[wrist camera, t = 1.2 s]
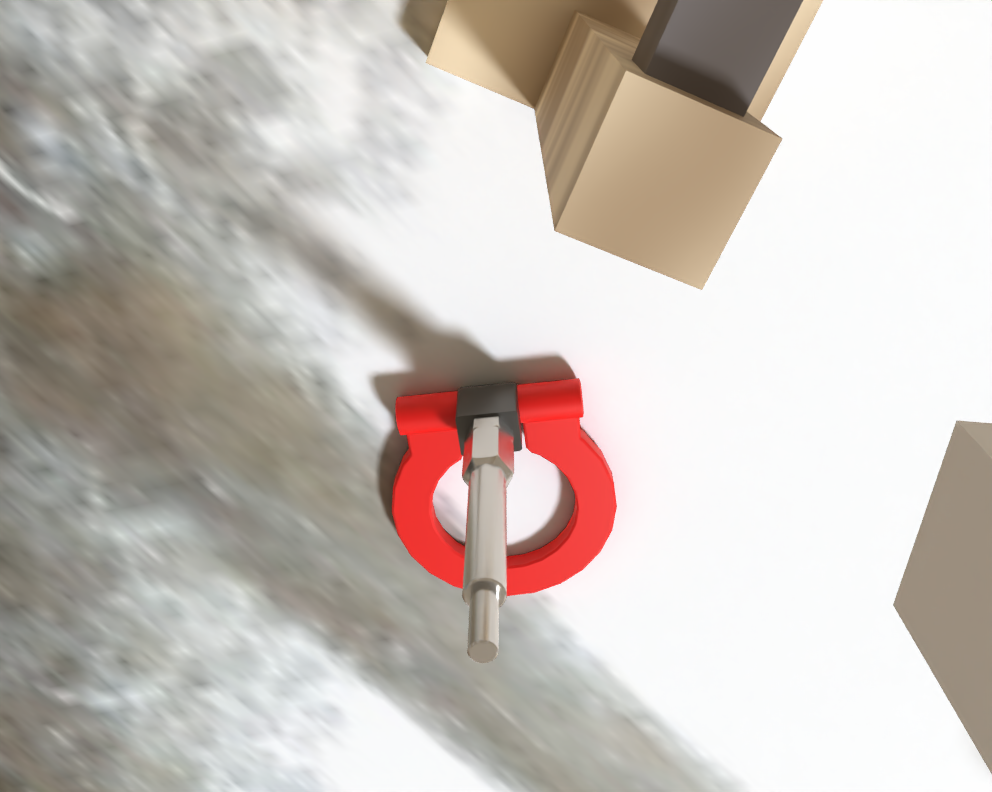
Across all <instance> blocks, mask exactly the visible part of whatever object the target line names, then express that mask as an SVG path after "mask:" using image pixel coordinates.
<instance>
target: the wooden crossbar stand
mask: <svg viewBox="0 0 992 792" xmlns="http://www.w3.org/2000/svg"><path fill="white" fill-rule="evenodd" d="M822 2H823V0H448V1H447V4H446V7H445V10H444V12H443V15H442V18H441V21H440V24H439V27H438V29H437V32H436V35H435V38H434V41H433V43H432V46H431V49H430V52H429V55H428V58H427V60H426V63H427V64H429V65H432V66H434V67H437V68H439V69H441V70H444V71H446V72H448V73H451V74H453V75H456V76H458V77H460V78H463V79H465V80H467V81H470V82H472V83H475V84H477V85H479V86H482V87H484V88H486V89H489V90H491V91H493V92H496V93H498V94H501V95H503V96H505V97H508V98H510V99H512V100H515V101H517V102H520V103H522V104H524V105H527V106H529V107H531V108H534V110H535V116H536V122H537V128H538V134H539V140H540V146H541V152H542V158H543V164H544V170H545V176H546V182H547V188H548V194H549V200H550V206H551V212H552V218H553V224H554V230H555V231H556V232H559V233H561V234H564V235H566V236H569V237H571V238H574V239H576V240H579V241H581V242H584V243H586V244H589V245H591V246H594V247H596V248H599V249H601V250H604V251H606V252H608V253H611V254H613V255H616V256H618V257H621V258H623V259H626V260H628V261H631V262H633V263H636V264H638V265H641V266H643V267H646V268H648V269H651V270H653V271H656V272H658V273H661V274H663V275H666V276H668V277H671V278H673V279H676V280H678V281H681V282H683V283H686V284H688V285H691V286H693V287H696V288H698V289H701V290H702V289H703V287H704V285H705V283H706V281H707V280H708V278H709V276H710V274H711V272H712V270H713V268H714V266H715V264H716V263H717V261H718V259H719V257H720V255H721V253H722V251H723V249H724V248H725V246H726V244H727V242H728V240H729V238H730V236H731V234H732V233H733V231H734V229H735V227H736V225H737V223H738V221H739V219H740V217H741V216H742V214H743V212H744V210H745V208H746V206H747V204H748V202H749V201H750V199H751V197H752V195H753V193H754V191H755V189H756V187H757V186H758V184H759V182H760V180H761V178H762V176H763V174H764V172H765V170H766V169H767V167H768V165H769V163H770V161H771V159H772V157H773V155H774V154H775V152H776V150H777V148H778V146H779V144H780V142H781V140H782V138H781V137H779V136H778V135H777V134H775V133H774V132H773V131H772V130H770V129H769V128H768V127H766V126H765V125H764V124H762V123H761V122H760V121H761V119H762V117H763V116H764V114H765V112H766V110H767V108H768V106H769V104H770V102H771V100H772V98H773V96H774V94H775V92H776V90H777V88H778V87H779V85H780V83H781V81H782V79H783V77H784V75H785V73H786V71H787V69H788V67H789V65H790V63H791V61H792V59H793V58H794V56H795V54H796V52H797V50H798V48H799V46H800V44H801V42H802V40H803V38H804V36H805V34H806V32H807V30H808V29H809V27H810V25H811V23H812V21H813V19H814V17H815V15H816V13H817V11H818V9H819V7H820V5H821V3H822Z"/></svg>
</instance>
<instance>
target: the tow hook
mask: <svg viewBox="0 0 992 792" xmlns="http://www.w3.org/2000/svg"><path fill="white" fill-rule="evenodd" d="M583 414H584V411H583V400H582V391H581V383H580V380H579V378H578V379H568V380H558V381H548V382H539V383H529V384H519V385H517V384H516V383H515V382H511V383H501V384H492V385H482V386H472V387H463V388H460V389H459V390H458V391H451V392H442V393H432V394H422V395H413V396H403V397H397V399H396V404H395V418H396V424H397V427H398V430H399V433H400V435H407V440H408V445H409V449H408V451H407V452H406V453H405V454H404V456H403V458H402V461H401V463H400V466H399V469H398V471H397V474H396V476H395V479H394V485H393V498H392V515H393V518H394V522H395V526H396V529H397V533H398V536H399V537H400V539H401V540H402V542H403V544H404V545H405V547H406V548H407V550H408V552H409V553H410V555H411V556H412V557H413V558H414V559H415V560H416V561H417V562H418V563H419V564H421V565H422V566H423V567H424V568H425V569H426V570H427V571H428V572H429V573H431V574H432V575H434V576H436V577H438V578H440V579H442V580H443V581H445V582H447V583H449V584H451V585H452V586H455V587H458V588H462V589H463V591H462V597H463V600H464V602H465V603H466V605H467V606H469V628H468V649H467V653H468V656H469V657H470V658H471V659H472V660H473V661H475V662H479V663H488V662H491V661H493V660H494V659H495V658H496V657H497V656H498V641H499V607H501V606H502V605H503V604H504V602H505V600H506V598H507V596H510V595H518V594H526V593H534V592H538V591H540V590H543V589H546V588H549V587H552V586H555V585H558V584H561V583H562V582H564V581H565V580H567V579H569V578H570V577H572V576H574V575H575V574H577V573H578V572H580V571H582V570H583V569H584V568H585V567H586V566H587V565H588V564H589V563H590V562H591V561H592V560H593V559H594V558H595V557H596V556H597V555H598V554H599V553H600V552H601V550H602V548H603V546H604V544H605V542H606V540H607V539H608V537H609V535H610V533H611V531H612V528H613V523H614V518H615V512H616V507H617V505H616V497H615V490H614V482H613V476H612V472H611V470H610V468H609V466H608V464H607V462H606V460H605V458H604V455H603V453H602V451H601V450H600V449H599V447H598V446H597V445H596V444H595V443H594V442H593V441H592V440H591V439H590V438H589V437H588V435H587V434H586V433H585V432H584V431H583V430H581V429H580V420H579V418H580V417H583ZM521 423H523V427H524V435H525V443H526V448H527V449H528V450H529V451H530V452H532V453H535V454H538V455H540V456H542V457H543V458H545V459H547V460H548V461H550V462H552V463H553V464H555V465H556V466H557V467H558V468H559V469H560V470H561V471H562V472H563V474H564V475H565V476H566V477H567V478H568V480H569V482H570V484H571V486H572V488H573V490H574V493H575V505H574V511H573V514H572V516H571V518H570V520H569V522H568V524H567V526H566V528H565V529H564V530H563V531H562V532H561V533H560V534H559V535H558V536H557V537H556V539H554V540H553V541H551V542H550V543H548V544H547V545H545V546H543V547H542V548H540V549H537V550H534V551H532V552H529V553H526V554H521V555H514V556H507V526H506V488H507V486H508V484H509V482H510V481H511V479H512V476H513V473H514V451H520V450H521V449H522V431H521ZM462 456H463V470H462V478H463V480H464V482H465V483H466V484H467V485H468V486H469V489H468V506H467V523H466V540H465V546H463V545H462V544H460V543H458V542H456V541H455V540H454V539H453V538H452V537H451V536H450V535H449V534H448V533H447V532H446V531H445V530H444V529H443V527H442V526H441V524H440V522H439V521H438V519H437V517H436V514H435V510H434V506H433V502H432V500H433V493H434V490H435V488H436V486H437V483H438V481H439V479H440V478H441V477H442V476H443V475H444V473H445V472H446V471H447V470H448V469H449V467H451V466H452V465H454V464H455V463H456V462H458V461H459V460H461V458H462Z"/></svg>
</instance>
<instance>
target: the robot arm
mask: <svg viewBox="0 0 992 792" xmlns="http://www.w3.org/2000/svg"><path fill="white" fill-rule="evenodd" d="M893 606H894V607H895V609H896V611H897V612H898V614H899V616H900V618H901V619H902V621H903V623H904V624H905V626H906V628H907V629H908V631H909V633H910V635H911V636H912V638H913V640H914V641H915V643H916V645H917V647H918V648H919V650H920V652H921V653H922V655H923V657H924V659H925V660H926V662H927V664H928V665H929V667H930V669H931V671H932V672H933V674H934V676H935V677H936V679H937V681H938V683H939V684H940V686H941V688H942V689H943V691H944V693H945V695H946V696H947V698H948V700H949V701H950V703H951V705H952V707H953V708H954V710H955V712H956V713H957V715H958V717H959V719H960V720H961V722H962V724H963V725H964V727H965V729H966V731H967V732H968V734H969V736H970V737H971V739H972V741H973V743H974V744H975V746H976V748H977V749H978V751H979V753H980V755H981V756H982V758H983V760H984V761H985V763H986V765H987V767H988V768H989V770H990V772H991V773H992V424H991V423H979V422H967V421H956V424H955V427H954V430H953V433H952V436H951V439H950V442H949V444H948V447H947V450H946V453H945V456H944V459H943V462H942V465H941V468H940V471H939V473H938V476H937V479H936V482H935V485H934V488H933V491H932V494H931V497H930V500H929V503H928V505H927V508H926V511H925V514H924V517H923V520H922V523H921V526H920V529H919V532H918V534H917V537H916V540H915V543H914V546H913V549H912V552H911V555H910V558H909V561H908V563H907V566H906V569H905V572H904V575H903V578H902V581H901V584H900V587H899V590H898V593H897V595H896V598H895V601H894V604H893Z"/></svg>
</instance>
